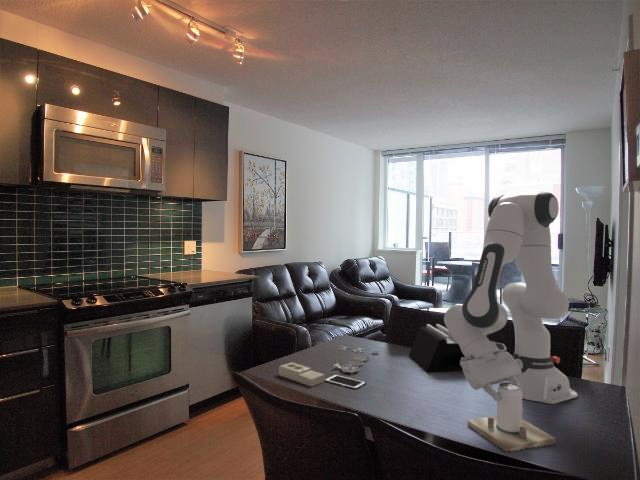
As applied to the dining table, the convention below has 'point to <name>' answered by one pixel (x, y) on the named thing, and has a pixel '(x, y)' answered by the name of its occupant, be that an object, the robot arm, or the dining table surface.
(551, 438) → the pin plate
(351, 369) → the drone parts
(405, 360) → the dining table surface
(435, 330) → the device stand
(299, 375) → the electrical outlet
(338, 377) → the cell phone
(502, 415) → the can
